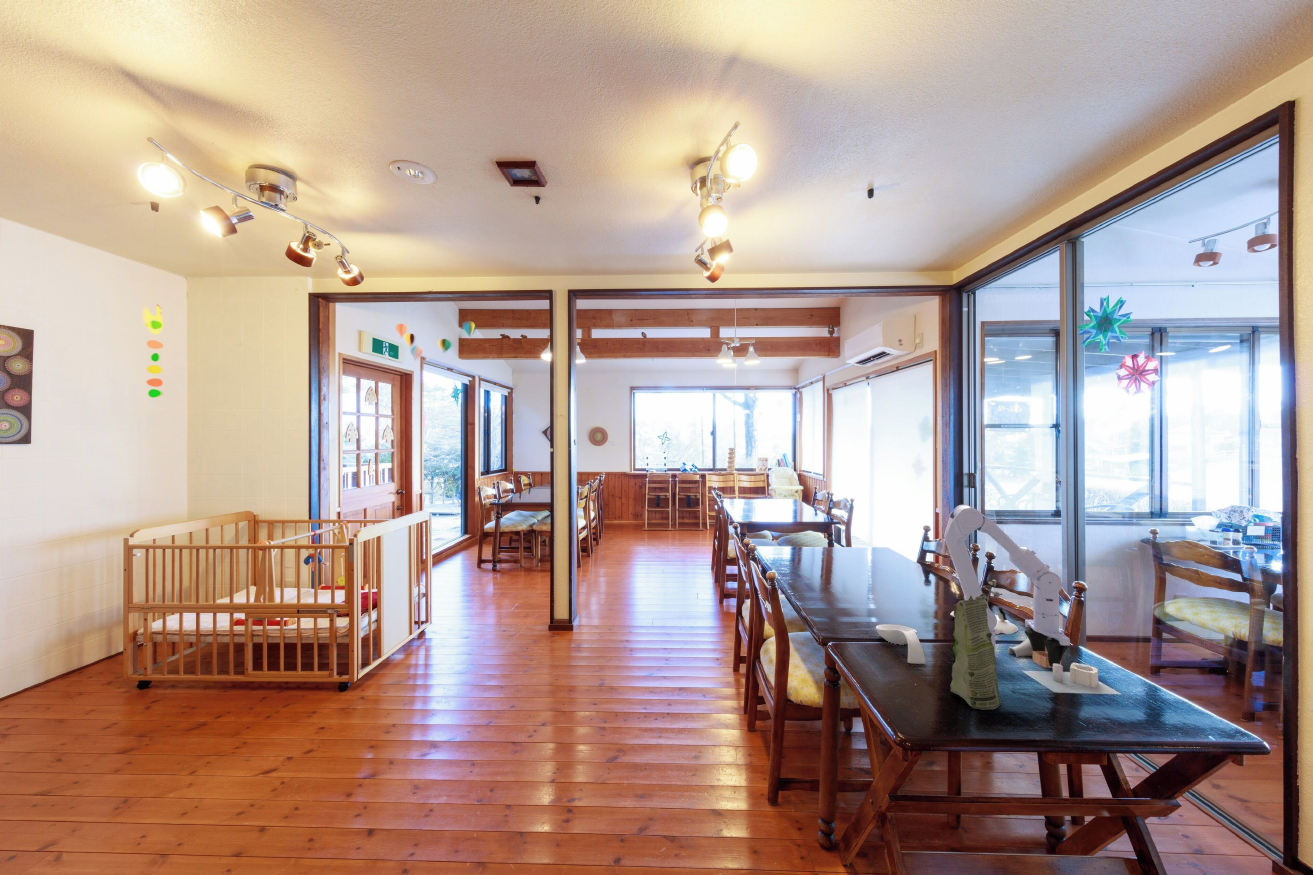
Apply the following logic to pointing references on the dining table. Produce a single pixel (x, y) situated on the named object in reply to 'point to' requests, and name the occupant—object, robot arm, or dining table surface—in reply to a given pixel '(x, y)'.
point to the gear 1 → (1041, 658)
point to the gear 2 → (1084, 675)
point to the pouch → (974, 655)
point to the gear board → (1067, 681)
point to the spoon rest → (903, 640)
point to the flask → (1023, 649)
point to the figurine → (999, 614)
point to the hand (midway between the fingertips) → (1046, 661)
